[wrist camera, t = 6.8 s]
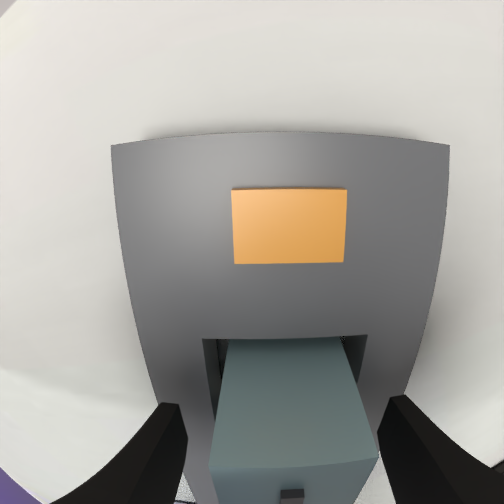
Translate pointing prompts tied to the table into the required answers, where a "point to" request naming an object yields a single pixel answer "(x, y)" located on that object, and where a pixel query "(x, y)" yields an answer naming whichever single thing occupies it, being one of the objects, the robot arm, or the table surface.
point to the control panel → (277, 257)
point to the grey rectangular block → (290, 425)
